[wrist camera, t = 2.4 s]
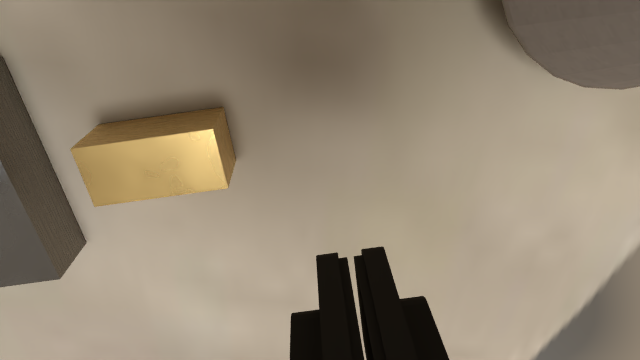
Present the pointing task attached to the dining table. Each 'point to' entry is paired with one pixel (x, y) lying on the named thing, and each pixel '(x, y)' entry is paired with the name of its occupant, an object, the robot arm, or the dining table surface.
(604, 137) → the dining table surface
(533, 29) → the coffee pot
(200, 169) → the yellow rectangular block
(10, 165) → the socket
